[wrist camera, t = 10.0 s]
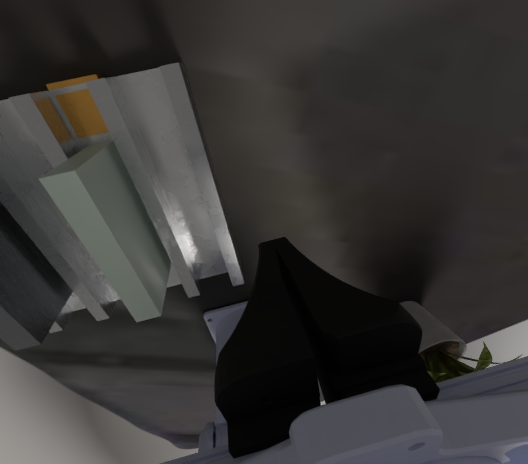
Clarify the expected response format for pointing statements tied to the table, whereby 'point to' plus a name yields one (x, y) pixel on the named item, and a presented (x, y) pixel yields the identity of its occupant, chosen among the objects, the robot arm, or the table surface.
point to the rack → (142, 174)
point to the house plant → (443, 347)
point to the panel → (113, 225)
